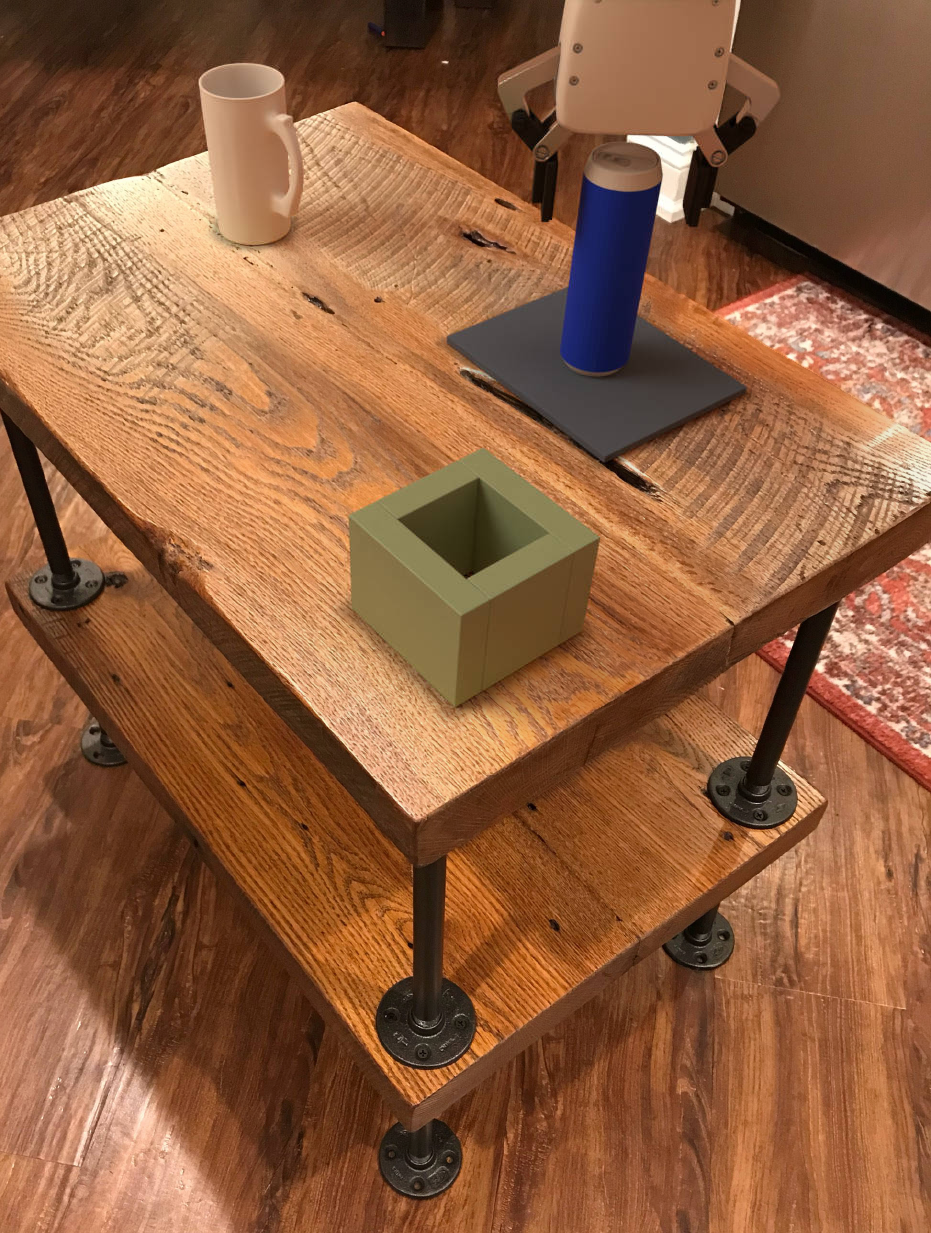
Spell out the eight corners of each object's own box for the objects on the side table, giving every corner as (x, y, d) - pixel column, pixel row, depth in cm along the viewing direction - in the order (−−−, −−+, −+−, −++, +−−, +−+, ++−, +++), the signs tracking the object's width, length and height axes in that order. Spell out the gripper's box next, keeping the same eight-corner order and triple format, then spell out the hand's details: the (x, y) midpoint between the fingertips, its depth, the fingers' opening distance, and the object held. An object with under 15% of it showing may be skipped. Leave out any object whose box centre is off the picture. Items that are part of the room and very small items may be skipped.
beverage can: (636, 350, 87) (675, 148, 75) (616, 386, 84) (652, 182, 72) (572, 334, 88) (599, 133, 77) (549, 369, 85) (574, 166, 74)
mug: (199, 226, 100) (180, 79, 90) (259, 200, 102) (246, 55, 93) (275, 270, 95) (263, 120, 86) (335, 242, 98) (330, 94, 89)
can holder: (475, 541, 74) (483, 447, 68) (582, 630, 69) (600, 537, 63) (351, 608, 70) (347, 514, 64) (454, 708, 65) (461, 615, 59)
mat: (745, 393, 84) (747, 386, 84) (604, 463, 79) (605, 456, 79) (582, 286, 94) (583, 279, 93) (446, 342, 88) (446, 335, 88)
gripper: (810, -102, 66) (739, 192, 79) (509, -109, 67) (489, 184, 80) (833, -57, 61) (754, 247, 75) (509, -65, 62) (488, 239, 75)
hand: (617, 214), depth 77 cm, fingers open, 9 cm apart
